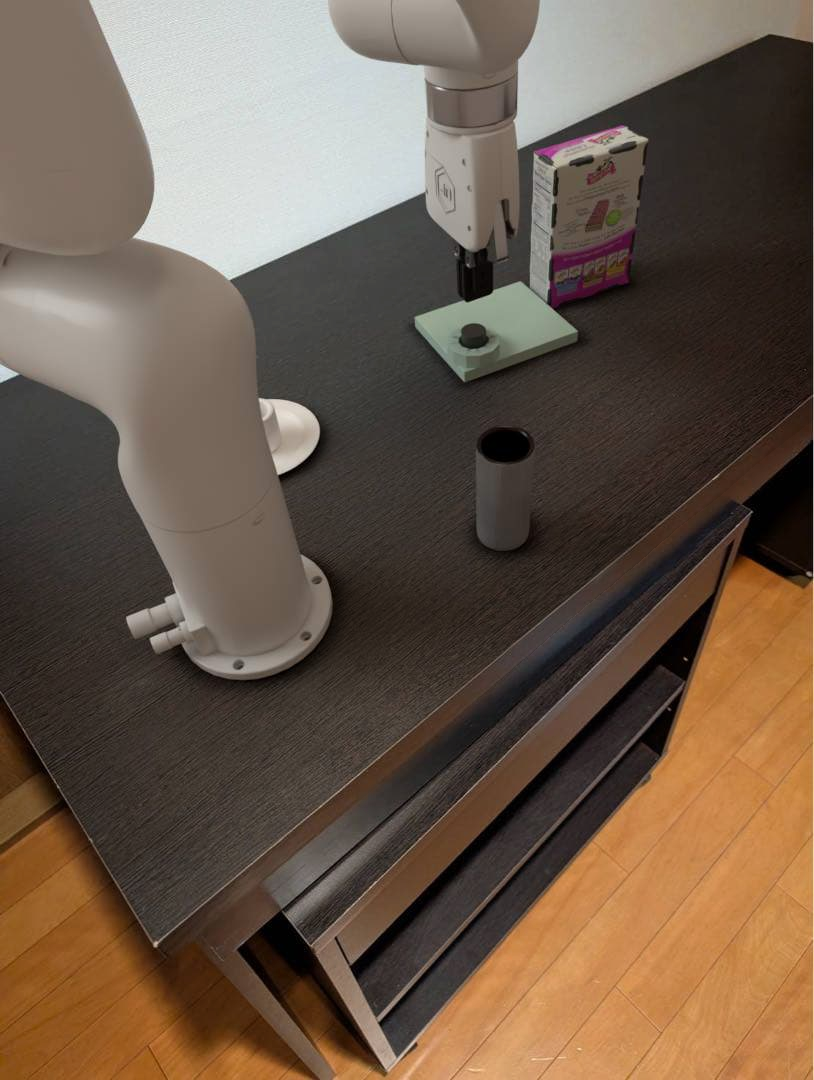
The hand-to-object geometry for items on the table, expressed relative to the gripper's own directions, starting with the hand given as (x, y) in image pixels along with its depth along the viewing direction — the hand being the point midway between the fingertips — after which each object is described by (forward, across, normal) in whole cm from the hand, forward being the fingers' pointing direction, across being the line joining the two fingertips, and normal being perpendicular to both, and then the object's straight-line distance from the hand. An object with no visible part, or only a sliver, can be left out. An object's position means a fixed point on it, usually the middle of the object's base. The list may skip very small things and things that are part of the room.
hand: (475, 294), depth 77 cm
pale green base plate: (+8, -3, +4) cm, 10 cm away
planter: (+8, +23, -10) cm, 26 cm away
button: (+5, 0, 0) cm, 5 cm away
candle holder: (+8, +1, -25) cm, 26 cm away
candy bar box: (+9, -6, +17) cm, 20 cm away
